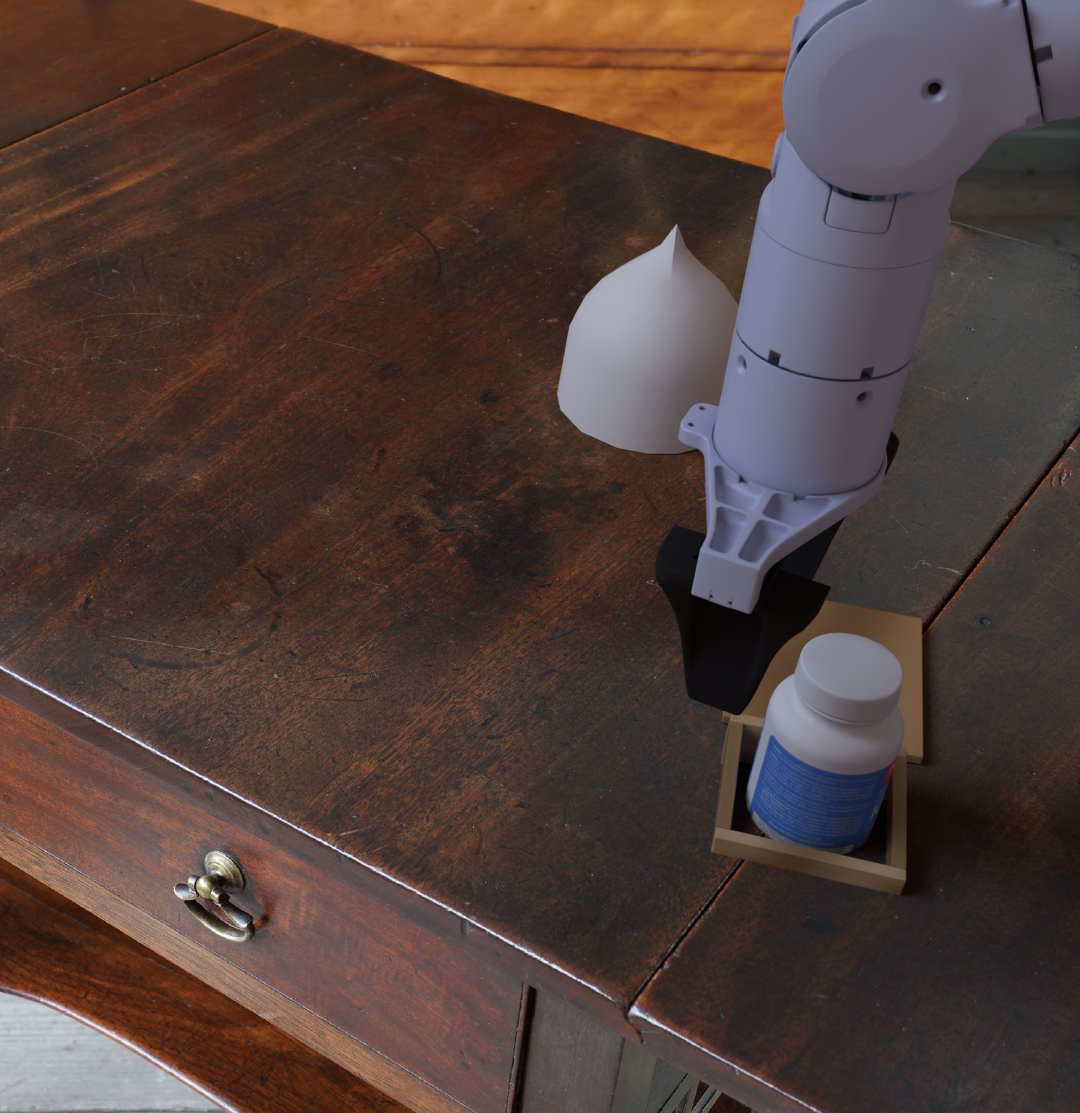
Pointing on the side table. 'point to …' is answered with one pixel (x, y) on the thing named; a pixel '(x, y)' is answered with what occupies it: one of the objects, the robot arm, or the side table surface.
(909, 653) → the pad
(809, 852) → the frame
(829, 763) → the pill bottle
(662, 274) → the teardrop
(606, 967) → the side table surface
